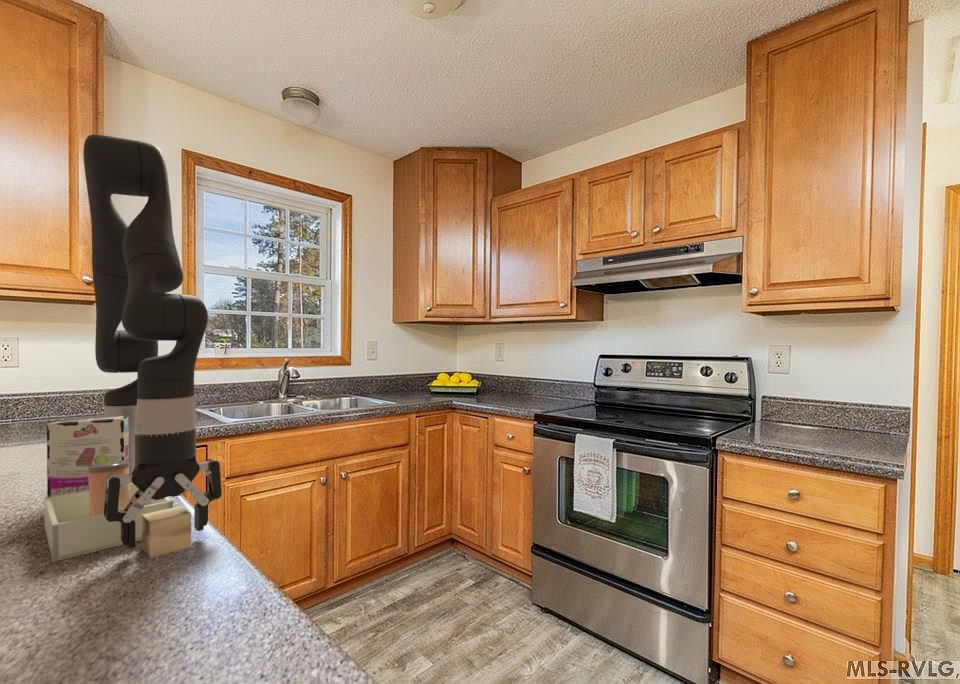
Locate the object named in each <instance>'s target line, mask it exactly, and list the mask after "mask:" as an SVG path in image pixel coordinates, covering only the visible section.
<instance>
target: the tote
mask: <svg viewBox="0 0 960 684" xmlns="http://www.w3.org/2000/svg"><path fill="white" fill-rule="evenodd" d="M137 490H138V488H137V487H136V486H135V485H134V484H133V483H130V499H131V498H132V496H133V495H134V494H135V492H136V491H137ZM144 499H145V498H144ZM43 508H44V517H43V518H44V521H43V522H44V524H43V526H44V528H43V529H44V533H45V537H46V540H47V545H48V549H49V553H50V557H51V562H52V563H55V562H59V561H64V560H68V559H71V558H75V557H80V556H83V555H87V554H91V553H95V552H99V551H104V550H106V549H112V548H115V547H119V546H124V545H123V543H122V541H121V522H118V521H113V522H108V521H107V520H106V517H105V516H104V514H102V515H97V516H92V517H89V490H87V491H81V492H76V493H70V494H64V495H58V496H52V497H44V507H43ZM170 508H174V500H173V499H172V498H170V496H168V497H165V498H163V499H160V500H154V499H150V500H149V501H148V503H147V504H146V505H145V506H144V507H143V508H142V509H141V510H140V511H139V512H138V514H137V515H136V516H135V518H134V521H135V543H137V542H140V541H142V514H147V513H152V512H156V511H161V510H165V509H170Z"/></svg>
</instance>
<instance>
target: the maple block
mask: <svg viewBox="0 0 960 684" xmlns="http://www.w3.org/2000/svg"><path fill="white" fill-rule="evenodd" d="M141 545H142V546H141V547H142V548H141V549H143V551H144V552H145V553H146V554H147V556H148V557H149V558H150V559H153V558H157V557H161V556H163V554H164V555H168V554H171V553H170V552H172V553H175V552H178V550H179V551H181V549H182V550H185V549H184V548H186V549H188V548H187V547H189V548H192V513H191V512H190V511H189V510H187V509H185V507H183V506H182V505H180V506H176V507H175V506H173V508H170V509H165V510H161V511H156V512H152V513H147V514H142V540H141ZM174 551H175V552H174ZM167 553H168V554H167ZM160 555H161V556H160Z"/></svg>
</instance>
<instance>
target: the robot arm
mask: <svg viewBox="0 0 960 684" xmlns="http://www.w3.org/2000/svg"><path fill="white" fill-rule="evenodd" d="M82 155H83V165H84V166H83V167H84V168H83V169H84V175H85V182H86V189H87V198H88V205H89V212H90V220H91V221H90V223H91V268H92V269H91V270H92V280H93V289H94V291H93V292H94V301H95V313H96V315H95V319H96V320H95V342H94V344H95V345H94V347H95V348H94V350H95V351H94V352H95V353H94V354H95V355H94V356H95V361H96V364H97V367H98V369H99V371H101V372H104V373H106V374H107V373H108V374H109V373H110V374H119V373H120V374H124V373H126V374H127V373H136V375H137V377H136V378H137V379H135V380H133V381H131V382H130V383H128V384H126V385H123V386H120V387H118V388H114V389H111V390H108V391H107V392H105V394H104V397H103V417H116V416H128V417H129V474H127V475H118V476H117V475H115V474H111V475H109V476H108V477H107V479H106V491H105V504H104V516H105V517H106V520H107V521H108V522H113V521H118V522H121V541H122V543H123V545H122V546H126V547H127V548H128V550H130V549H136V542H135V521H134V518H135V516H136V515H137V514H138V512H139V511H140V510H141V509H142V508H143V507H144V506H145V505H146V504H147V503H148V501H149V500H150V499H154V500H160V499H163V498H165V497H173V498H174V497H180V496H181V495H182V494H183V493H185V492H186V493H187V494H188V495H189V496H190V497H191V498H192V500H194V501H195V502H196V503H195V504H194V507H193V508H194V520H193V521H194V529H195V530H196V531H197V532H201V531H203V530H204V527H205V526H207V525H208V522H209V504H210V503H211V502H213V501H215V500H218V499H221V497H222V495H223V494H222V479H221V465H220V463H221V462H220V461H218V460H216V459H215V458H208V460H206V461H203V462H198V461H197V424H198V419H197V409H196V403H195V401H196V400H195V368H196V364H197V359H198V355H199V351H200V348H201V345H202V341H203V338H204V336H205V333H206V330H207V325H208V321H209V314H208V310H207V307H206V305H205V303H204V302H203V301H202V300H201V299H200V298H199V297H197V296H195V295H190V294H179V293H178V294H177V293H171V292H174V291H175V290H177V289H179V287H181V285H182V284H183V281H184V272H183V269H182V265H181V260H180V257H179V253H178V248H177V246H176V241H175V236H174V231H173V217H172V213H173V212H172V204H171V202H172V201H171V194H170V193H171V192H170V184H169V178H168V169H167V163H166V161H165V158H164V155H163V153H162V151H161V149H160V148H159V147H158V146H156V145H155V144H153V143H151V142H150V143H149V142H145V141H140V140H134V139H128V138H124V137H123V138H122V137H116V136H110V135H103V134H90V135H88V136H86V139H85V140H84V143H83V153H82ZM112 195H121V196H132V197H143V198H146V197H147V202H146V204H145V205H144V207H143V208H142V210H140V212H139V213H138V214H137V215H136V217H134V218H133V220H131V222H130V224H129V225H128V224H127V223H126V222H125V220H124V219H123V217H122V216H121V214H120V213H119V212H118V211H119V210H117V208H116V206H115V204H114V202H113V199H112ZM120 324H122V328H123V329H124V330H122V329H121V330H120V329H119V330H118V328H119V327H120ZM159 341H164V342H165V341H174V342H175V341H176V342H175V345H174V347H173V349H172V350H171V351H170V352H169V353H167V354H162V355H159ZM200 471H201V472H202V474H204V475H205V476H207V491H205V492H204V493H203V492H202V491H201V490H200V489H199V488H198V487H197V486H196V485H195V484H194V483H193V481H194V479H195V478H196V476H197V475H198V474H199V473H200ZM128 483H133V484H134V485H135V486H136V487H137V488H138V490H137V491H136V492H135V494H134V495H133V496H132V498H131V499H130V501H129V503H128V504H127V505H126V507H125V508H124V509H123V510H118V504H119V492H120V491H123V490H124V489H125V488H126V485H127V484H128ZM144 498H145V499H144Z"/></svg>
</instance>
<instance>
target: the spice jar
mask: <svg viewBox="0 0 960 684" xmlns="http://www.w3.org/2000/svg"><path fill="white" fill-rule="evenodd" d="M111 474H115V475H117V476H118V475H127V474H129V461H126V460H121V461H110V462H103V463H98V464H94V465H91V466H89V467H88V478H89V517H92V516H97V515H102V514H104V504H105V491H106V479H107V477H108V476H109V475H111ZM129 501H130V483H128V484H127V485H126V488H125V489H124V490H123V491H120V492H119V504H118V510H123V509H124V508H125V507H126V505H127V504H128V503H129Z"/></svg>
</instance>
